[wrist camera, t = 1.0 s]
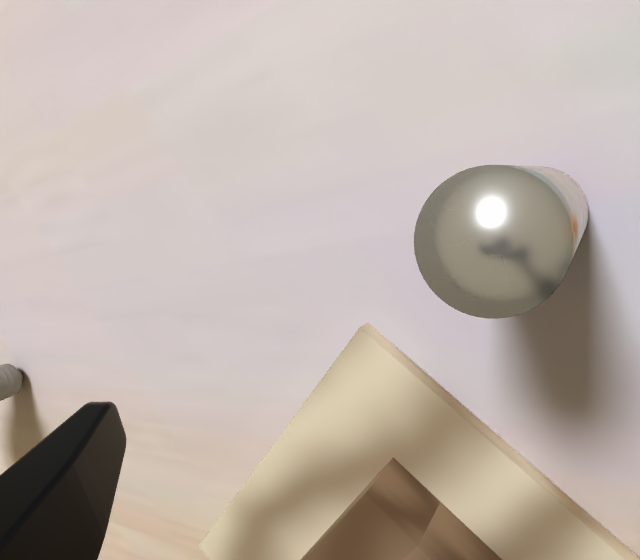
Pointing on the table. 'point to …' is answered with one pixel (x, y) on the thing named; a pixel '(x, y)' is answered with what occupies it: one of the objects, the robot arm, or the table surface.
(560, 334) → the table surface
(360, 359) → the socket holder
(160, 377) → the table surface
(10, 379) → the lightbulb
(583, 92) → the table surface
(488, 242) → the peg
